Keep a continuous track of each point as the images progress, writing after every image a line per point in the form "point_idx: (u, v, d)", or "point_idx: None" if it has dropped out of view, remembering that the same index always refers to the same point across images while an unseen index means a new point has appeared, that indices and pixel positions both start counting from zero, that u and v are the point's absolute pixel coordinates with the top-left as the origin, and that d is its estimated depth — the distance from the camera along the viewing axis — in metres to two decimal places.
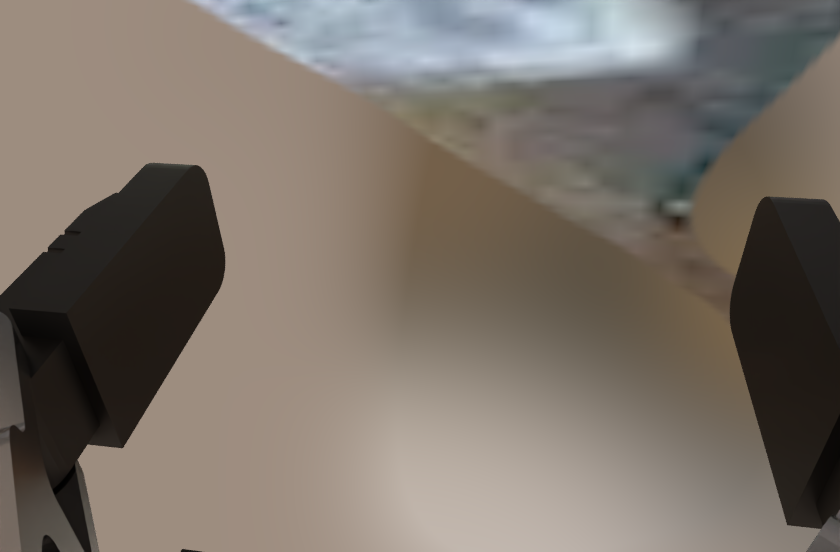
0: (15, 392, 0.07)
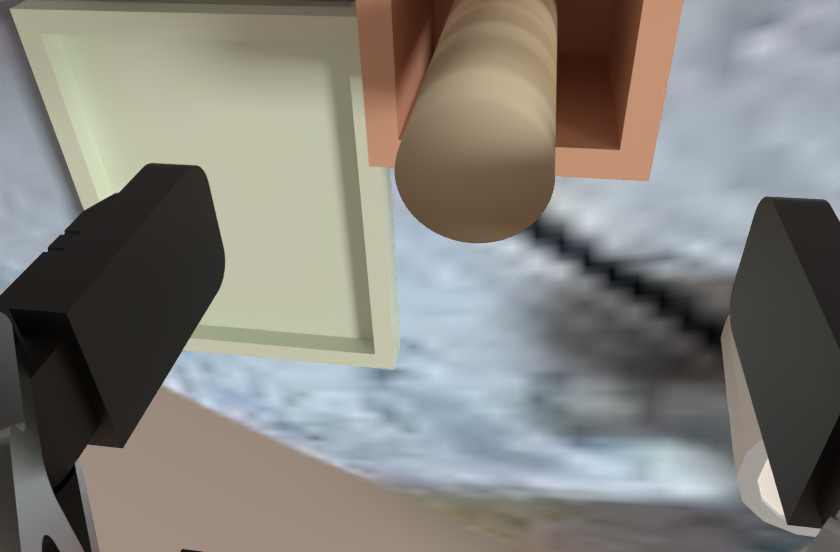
0: (15, 392, 0.07)
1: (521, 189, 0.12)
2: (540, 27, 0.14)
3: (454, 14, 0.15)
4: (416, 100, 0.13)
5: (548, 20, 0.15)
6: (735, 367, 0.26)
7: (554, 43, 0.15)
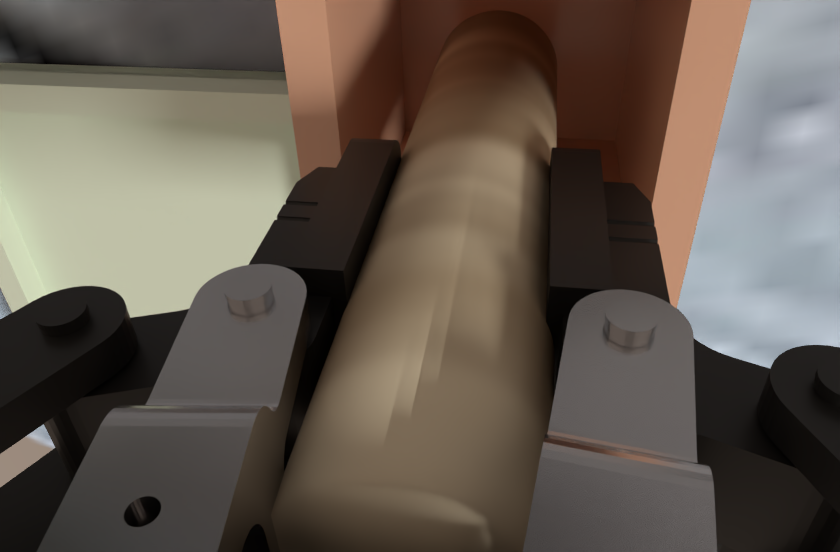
0: (284, 365, 0.07)
1: None
2: (529, 221, 0.09)
3: (399, 186, 0.10)
4: (318, 381, 0.08)
5: (542, 195, 0.10)
6: None
7: None
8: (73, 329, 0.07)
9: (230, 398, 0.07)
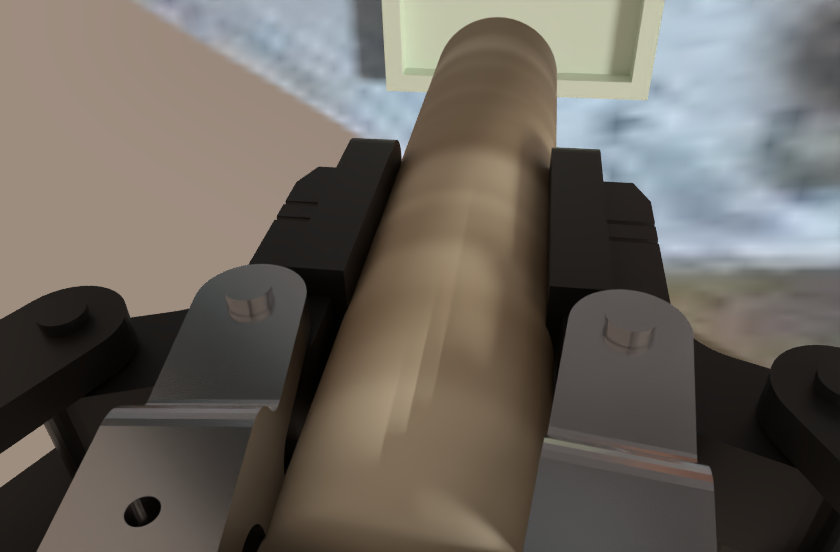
0: (284, 365, 0.07)
1: None
2: (527, 234, 0.09)
3: (395, 199, 0.10)
4: (312, 403, 0.07)
5: (541, 206, 0.10)
6: None
7: None
8: (73, 329, 0.07)
9: (230, 398, 0.07)
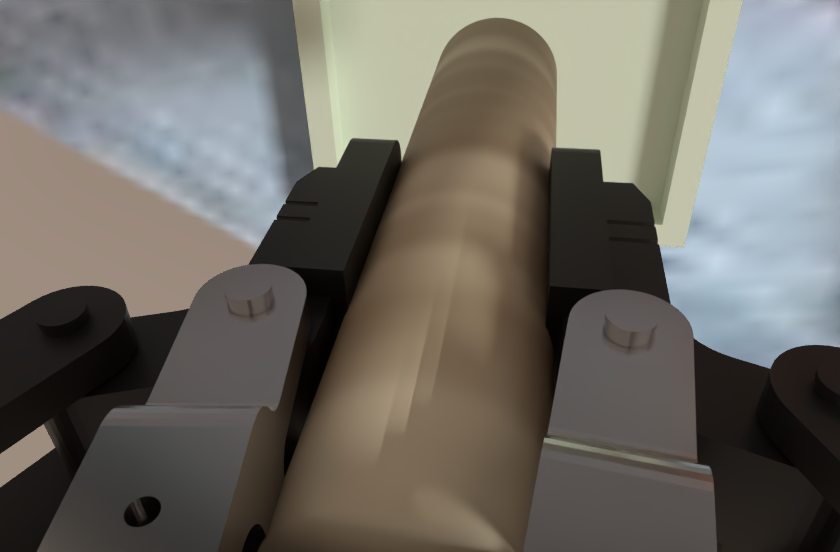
0: (284, 365, 0.07)
1: None
2: (526, 234, 0.09)
3: (395, 200, 0.10)
4: None
5: (540, 206, 0.10)
6: None
7: None
8: (73, 329, 0.07)
9: (230, 398, 0.07)
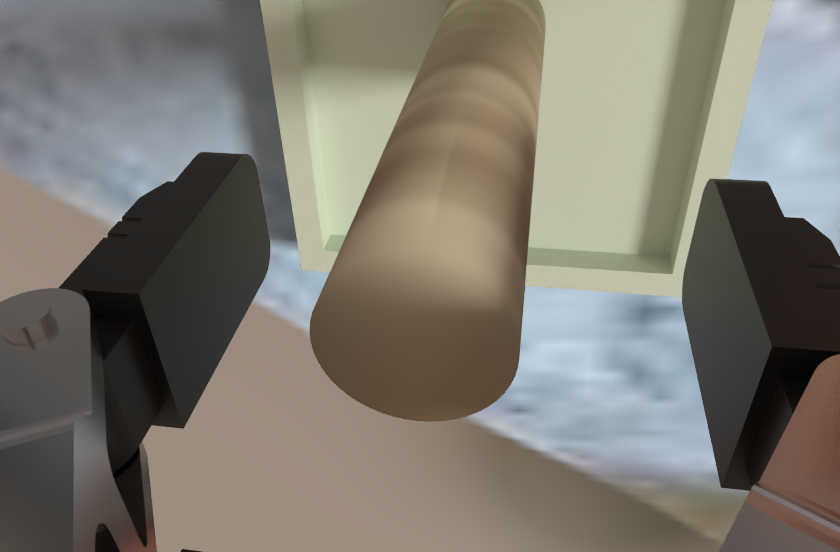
0: (86, 376, 0.07)
1: (476, 364, 0.09)
2: (511, 122, 0.12)
3: (408, 103, 0.13)
4: None
5: (523, 108, 0.12)
6: None
7: (531, 137, 0.12)
8: None
9: (37, 420, 0.06)
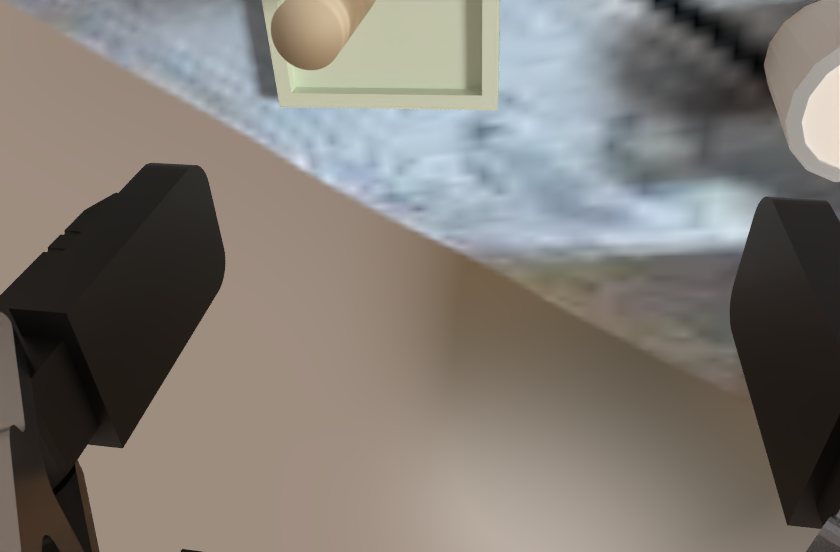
0: (15, 392, 0.07)
1: (327, 39, 0.26)
2: None
3: None
4: None
5: None
6: (779, 61, 0.33)
7: None
8: None
9: None
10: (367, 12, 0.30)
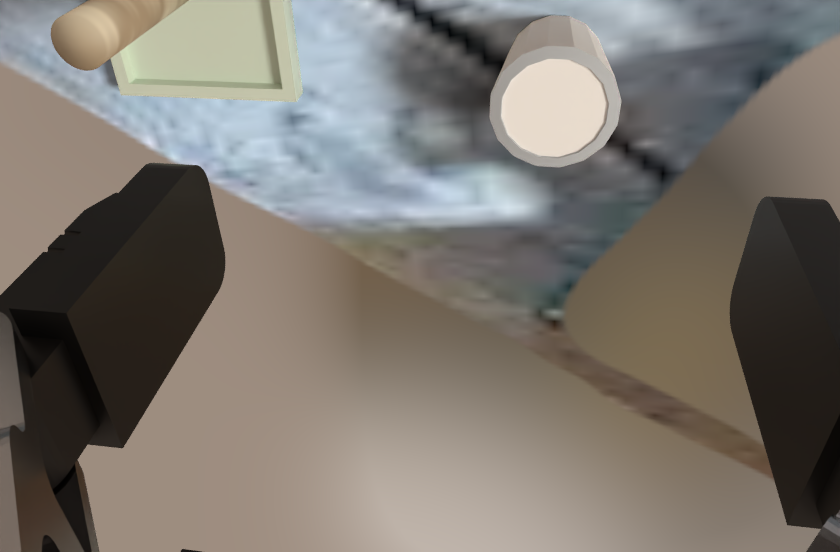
0: (15, 392, 0.07)
1: (94, 47, 0.33)
2: None
3: None
4: None
5: None
6: None
7: (147, 1, 0.37)
8: None
9: None
10: (153, 22, 0.38)
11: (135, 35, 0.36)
